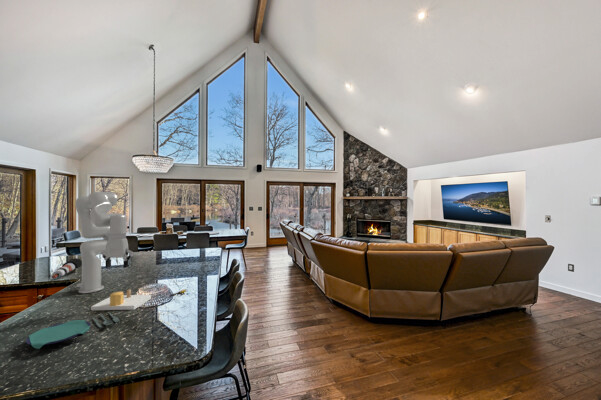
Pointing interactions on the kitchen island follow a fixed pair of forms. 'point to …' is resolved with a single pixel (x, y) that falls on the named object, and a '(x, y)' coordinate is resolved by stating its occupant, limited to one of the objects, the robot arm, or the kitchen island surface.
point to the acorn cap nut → (116, 298)
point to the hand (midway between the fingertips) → (117, 267)
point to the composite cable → (179, 292)
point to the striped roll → (67, 267)
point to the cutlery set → (63, 331)
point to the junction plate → (129, 303)
